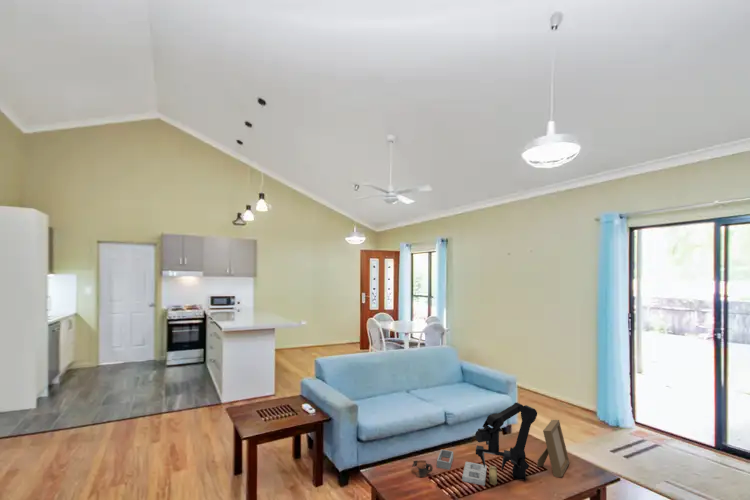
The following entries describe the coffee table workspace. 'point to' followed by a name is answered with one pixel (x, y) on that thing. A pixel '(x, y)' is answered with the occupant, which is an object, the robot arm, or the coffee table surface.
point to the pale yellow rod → (493, 475)
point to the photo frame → (554, 449)
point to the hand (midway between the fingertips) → (493, 468)
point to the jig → (474, 473)
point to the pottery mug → (422, 468)
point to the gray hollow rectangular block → (443, 463)
